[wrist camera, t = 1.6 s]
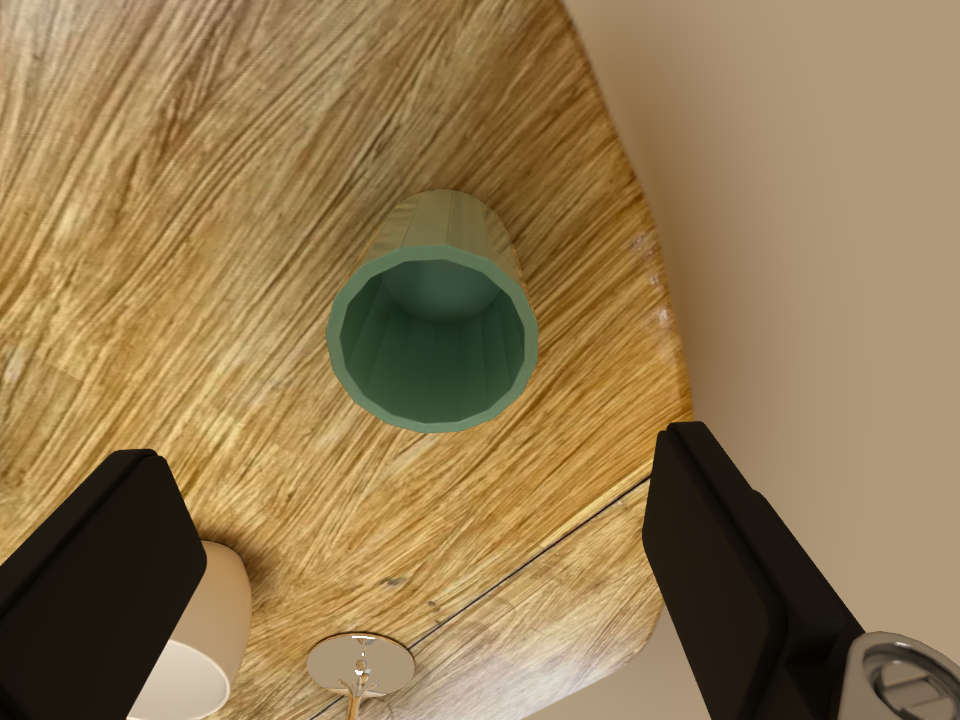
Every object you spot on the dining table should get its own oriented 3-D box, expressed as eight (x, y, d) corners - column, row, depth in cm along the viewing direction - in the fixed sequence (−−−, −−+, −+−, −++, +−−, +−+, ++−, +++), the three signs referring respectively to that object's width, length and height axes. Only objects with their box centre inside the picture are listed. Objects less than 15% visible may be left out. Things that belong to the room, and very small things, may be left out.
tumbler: (362, 192, 20) (306, 251, 13) (513, 185, 20) (540, 240, 13) (382, 328, 23) (346, 438, 16) (514, 322, 23) (536, 428, 16)
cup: (213, 620, 32) (156, 739, 26) (77, 530, 28) (-25, 648, 22) (302, 575, 31) (263, 692, 25) (171, 471, 26) (86, 583, 20)
